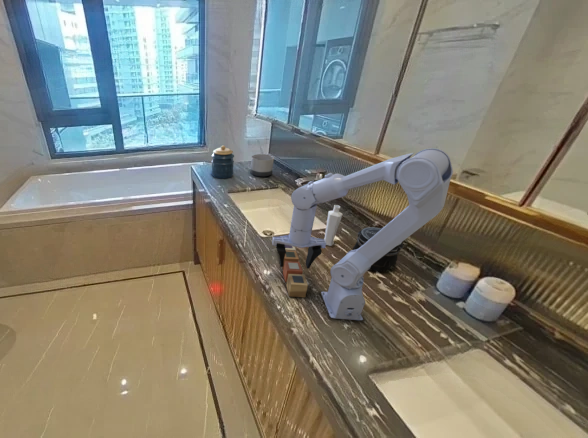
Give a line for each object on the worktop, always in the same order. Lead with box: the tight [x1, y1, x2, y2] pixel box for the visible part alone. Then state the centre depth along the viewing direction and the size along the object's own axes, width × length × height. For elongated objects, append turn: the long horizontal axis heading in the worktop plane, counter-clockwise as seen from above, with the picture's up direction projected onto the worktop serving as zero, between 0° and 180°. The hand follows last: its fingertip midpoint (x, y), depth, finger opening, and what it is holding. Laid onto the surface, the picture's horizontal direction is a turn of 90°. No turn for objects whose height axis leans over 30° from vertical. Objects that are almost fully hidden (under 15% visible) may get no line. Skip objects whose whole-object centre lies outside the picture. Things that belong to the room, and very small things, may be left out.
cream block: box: [285, 245, 297, 252], centre depth 96 cm, size 4×4×5 cm
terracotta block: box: [282, 261, 304, 283], centre depth 86 cm, size 4×4×5 cm
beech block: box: [281, 250, 300, 271], centre depth 91 cm, size 4×4×5 cm
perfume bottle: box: [323, 204, 344, 247], centre depth 100 cm, size 5×4×15 cm
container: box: [352, 226, 404, 272], centre depth 92 cm, size 13×13×10 cm
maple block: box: [285, 274, 309, 298], centre depth 81 cm, size 4×4×5 cm
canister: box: [211, 145, 235, 179], centre depth 165 cm, size 13×13×18 cm
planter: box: [249, 153, 275, 178], centre depth 167 cm, size 13×13×10 cm
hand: (294, 265), depth 85 cm, fingers open, 7 cm apart
